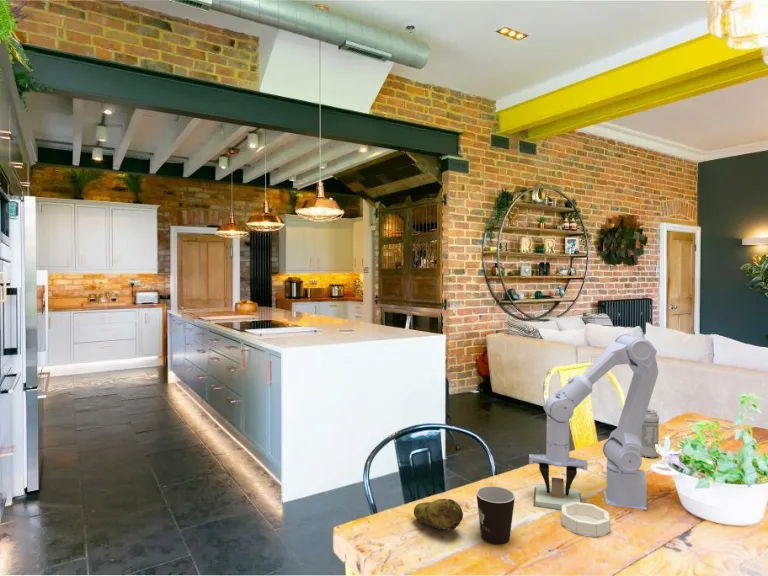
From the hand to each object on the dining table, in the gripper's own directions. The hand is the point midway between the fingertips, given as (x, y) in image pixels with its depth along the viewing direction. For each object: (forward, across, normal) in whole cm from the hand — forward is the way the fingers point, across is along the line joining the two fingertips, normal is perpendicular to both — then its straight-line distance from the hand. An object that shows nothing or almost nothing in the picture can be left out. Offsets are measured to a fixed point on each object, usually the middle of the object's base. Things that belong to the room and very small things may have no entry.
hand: (557, 492), depth 130 cm
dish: (+2, +6, -12) cm, 14 cm away
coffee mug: (+2, -14, -22) cm, 26 cm away
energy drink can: (+2, +29, +44) cm, 53 cm away
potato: (+2, -27, -24) cm, 36 cm away
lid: (+2, 0, 0) cm, 2 cm away
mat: (+2, 0, 0) cm, 2 cm away
